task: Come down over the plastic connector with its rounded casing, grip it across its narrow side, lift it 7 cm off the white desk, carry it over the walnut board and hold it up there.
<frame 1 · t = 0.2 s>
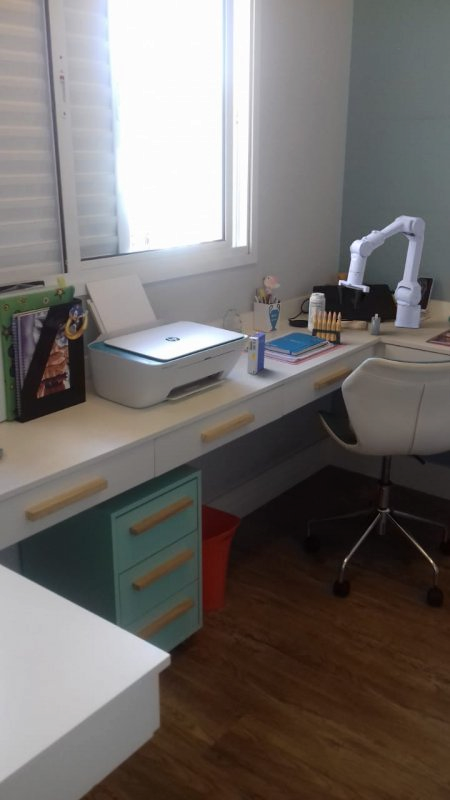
hand: (349, 307, 283), 10 cm above the table, tool pointing down, fingers open, 7 cm apart
purple white carton box: (255, 370, 239), on the table
connector: (374, 333, 288), on the table
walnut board: (350, 325, 299), on the table
ammunition clip: (325, 343, 274), on the table
energy drink can: (315, 332, 289), on the table
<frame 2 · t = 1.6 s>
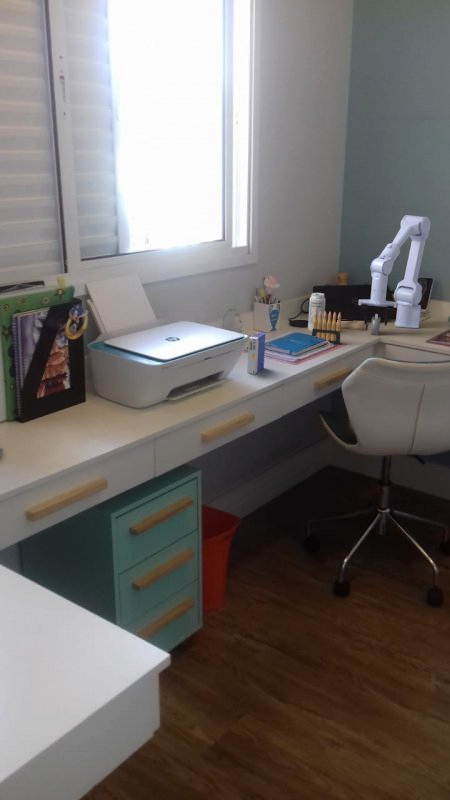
hand: (375, 324, 287), 4 cm above the table, tool pointing down, fingers open, 7 cm apart
nothing on the table moved.
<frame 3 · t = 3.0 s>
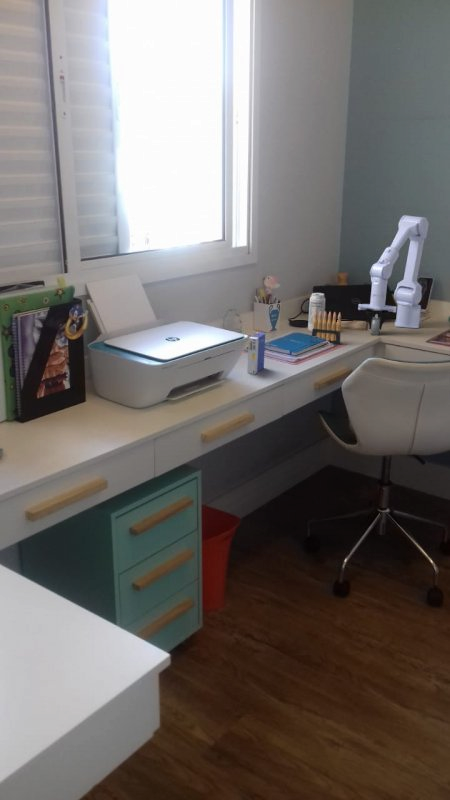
hand: (375, 328, 287), 2 cm above the table, tool pointing down, fingers closed on connector, 3 cm apart
connector: (374, 333, 288), on the table, touching gripper
everything else where it was.
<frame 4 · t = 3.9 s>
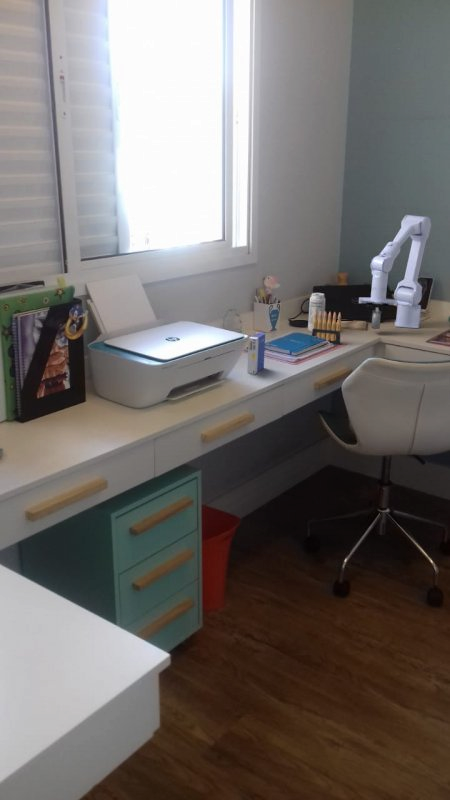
hand: (375, 322, 287), 5 cm above the table, tool pointing down, fingers closed on connector, 3 cm apart
connector: (375, 327, 287), point 3 cm above the table, touching gripper
everything else where it was.
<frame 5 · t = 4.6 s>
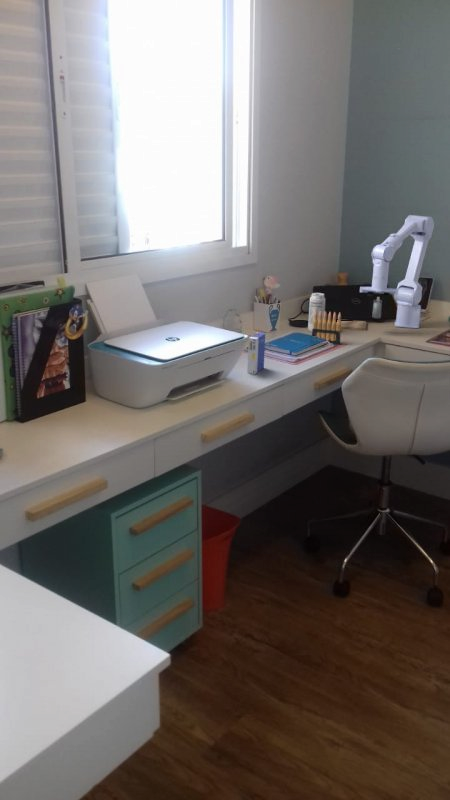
hand: (376, 311, 285), 9 cm above the table, tool pointing down, fingers closed on connector, 3 cm apart
connector: (376, 316, 286), point 7 cm above the table, touching gripper
everything else where it was.
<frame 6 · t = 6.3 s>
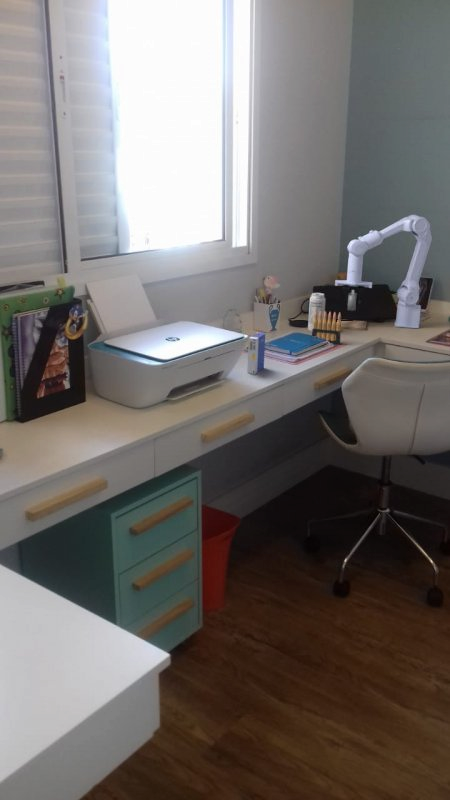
hand: (351, 304, 296), 9 cm above the table, tool pointing down, fingers closed on connector, 3 cm apart
connector: (351, 308, 297), point 7 cm above the table, touching gripper
everything else where it was.
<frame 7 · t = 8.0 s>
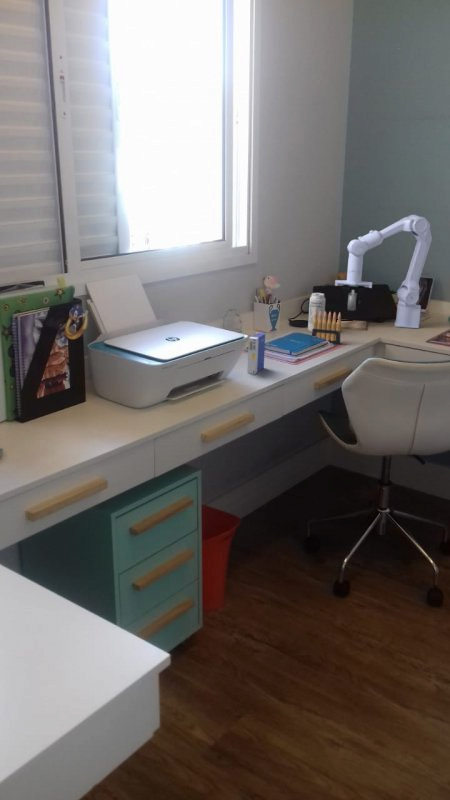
hand: (351, 304, 296), 9 cm above the table, tool pointing down, fingers closed on connector, 3 cm apart
connector: (351, 308, 297), point 7 cm above the table, touching gripper
everything else where it was.
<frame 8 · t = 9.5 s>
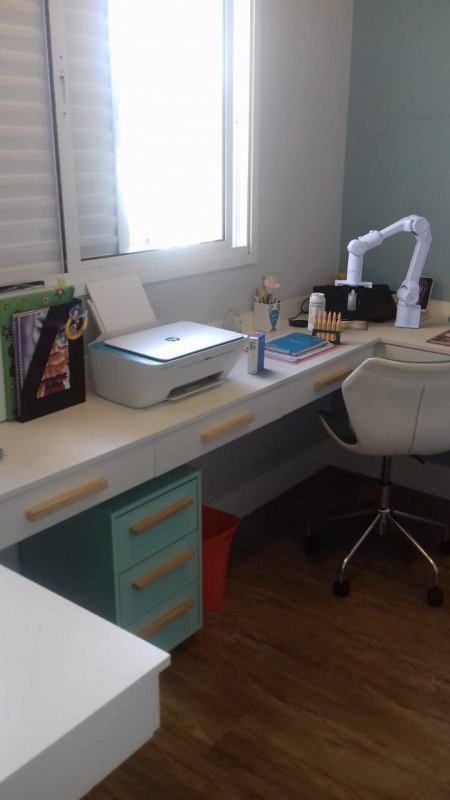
hand: (351, 304, 296), 9 cm above the table, tool pointing down, fingers closed on connector, 3 cm apart
connector: (351, 308, 297), point 7 cm above the table, touching gripper
everything else where it was.
at the end: the gripper is holding connector; connector inside the target area on the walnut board (0.0 cm from its centre), point 7.0 cm above the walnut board's base; connector touching gripper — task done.
